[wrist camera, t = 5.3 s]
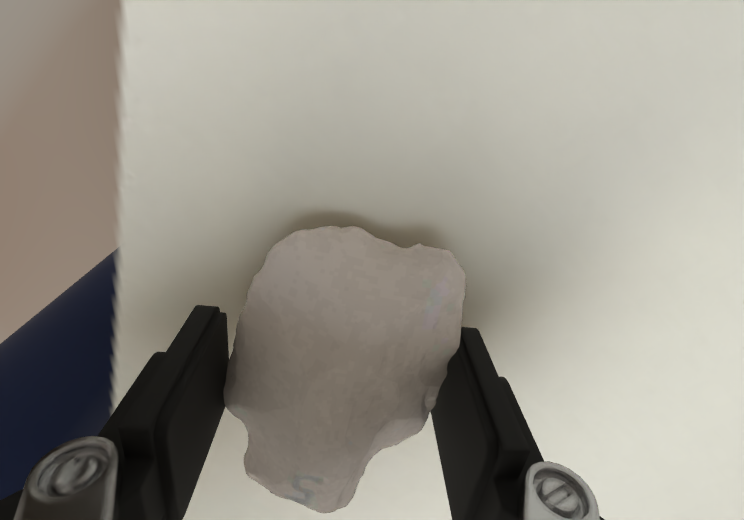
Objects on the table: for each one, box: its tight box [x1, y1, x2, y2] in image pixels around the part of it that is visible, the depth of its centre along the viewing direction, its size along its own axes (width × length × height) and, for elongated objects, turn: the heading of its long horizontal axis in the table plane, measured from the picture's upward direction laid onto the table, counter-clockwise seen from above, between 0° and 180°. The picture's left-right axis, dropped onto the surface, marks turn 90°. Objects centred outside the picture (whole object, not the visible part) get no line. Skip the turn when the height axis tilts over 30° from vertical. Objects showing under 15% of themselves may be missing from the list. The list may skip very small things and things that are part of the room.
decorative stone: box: [223, 226, 466, 513], centre depth 11 cm, size 9×6×3 cm, turn 157°
